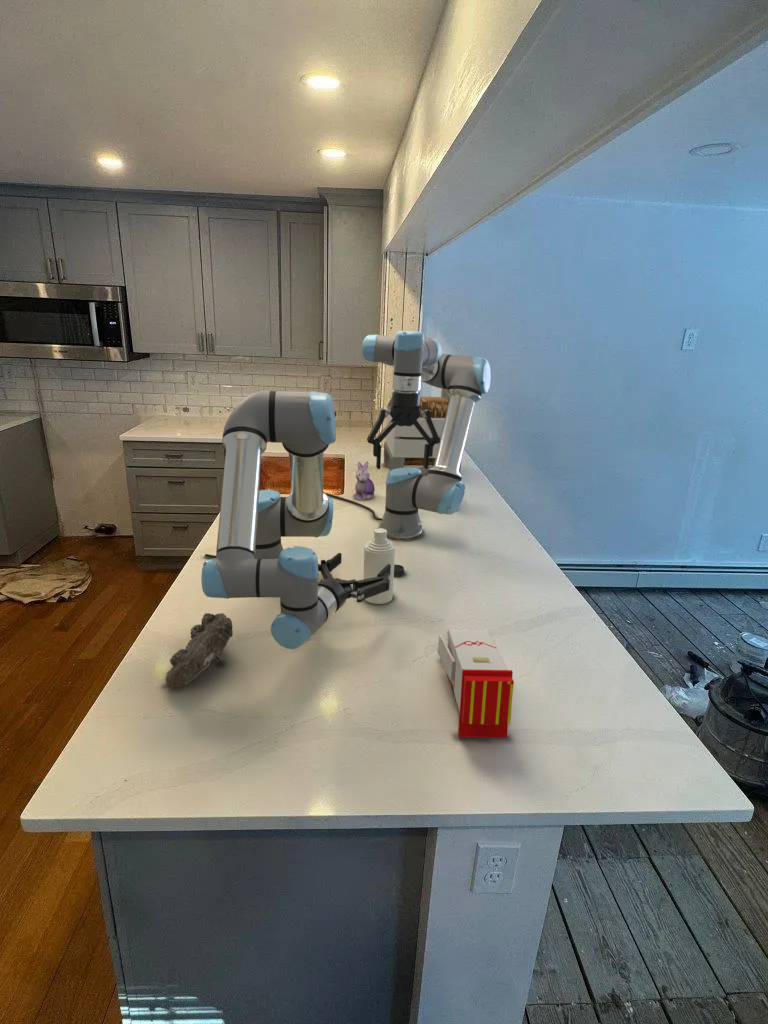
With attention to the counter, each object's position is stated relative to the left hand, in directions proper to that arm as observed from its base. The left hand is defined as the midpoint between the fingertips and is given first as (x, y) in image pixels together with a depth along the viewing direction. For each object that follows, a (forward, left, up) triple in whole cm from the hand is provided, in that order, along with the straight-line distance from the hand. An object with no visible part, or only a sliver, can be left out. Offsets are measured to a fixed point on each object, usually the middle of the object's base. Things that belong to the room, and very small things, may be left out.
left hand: (364, 563), depth 142 cm
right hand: (-1, +26, +18) cm, 32 cm away
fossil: (-22, -35, -14) cm, 43 cm away
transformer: (-33, +134, -14) cm, 138 cm away
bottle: (0, +10, -14) cm, 17 cm away
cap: (-1, +26, -13) cm, 29 cm away
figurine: (-40, +87, -14) cm, 97 cm away
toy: (+34, -19, -14) cm, 41 cm away
